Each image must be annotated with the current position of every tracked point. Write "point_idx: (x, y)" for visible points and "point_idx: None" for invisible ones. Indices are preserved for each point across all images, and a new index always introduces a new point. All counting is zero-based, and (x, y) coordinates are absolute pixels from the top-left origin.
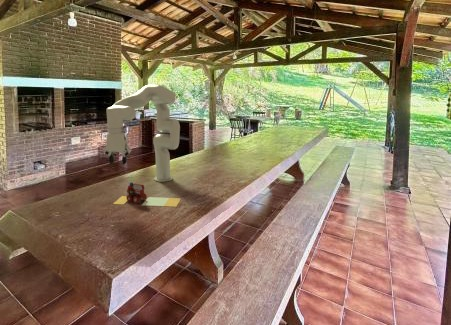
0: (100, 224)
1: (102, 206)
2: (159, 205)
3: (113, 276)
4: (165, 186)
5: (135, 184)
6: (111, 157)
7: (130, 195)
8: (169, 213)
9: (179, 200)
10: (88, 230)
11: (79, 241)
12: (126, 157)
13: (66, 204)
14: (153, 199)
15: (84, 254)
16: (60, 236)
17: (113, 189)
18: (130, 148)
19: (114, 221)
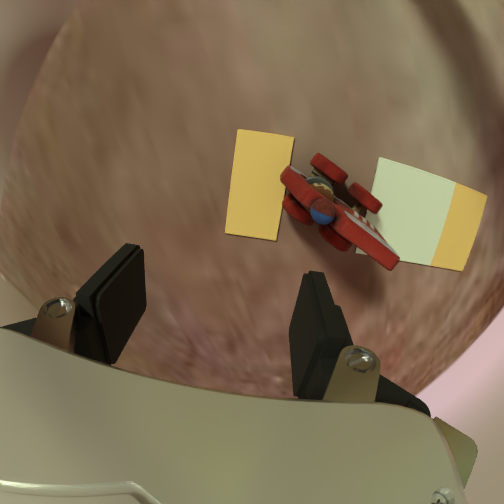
0: (242, 374)
1: (189, 254)
2: (418, 260)
3: None
4: (426, 22)
5: (354, 244)
6: (113, 344)
7: (308, 220)
8: (433, 317)
9: (480, 217)
10: None
11: None
12: (352, 343)
13: (60, 229)
14: (401, 192)
15: None
16: None
17: (164, 35)
18: (469, 474)
19: (277, 363)
